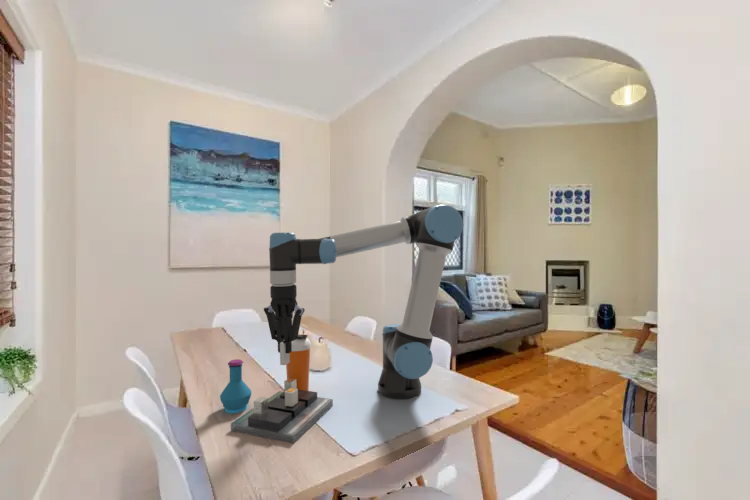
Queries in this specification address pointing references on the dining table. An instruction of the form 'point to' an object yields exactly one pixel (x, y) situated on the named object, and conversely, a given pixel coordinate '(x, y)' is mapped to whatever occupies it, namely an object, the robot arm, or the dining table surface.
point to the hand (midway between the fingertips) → (285, 363)
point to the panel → (288, 427)
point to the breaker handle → (291, 397)
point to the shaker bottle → (299, 362)
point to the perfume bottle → (235, 390)
